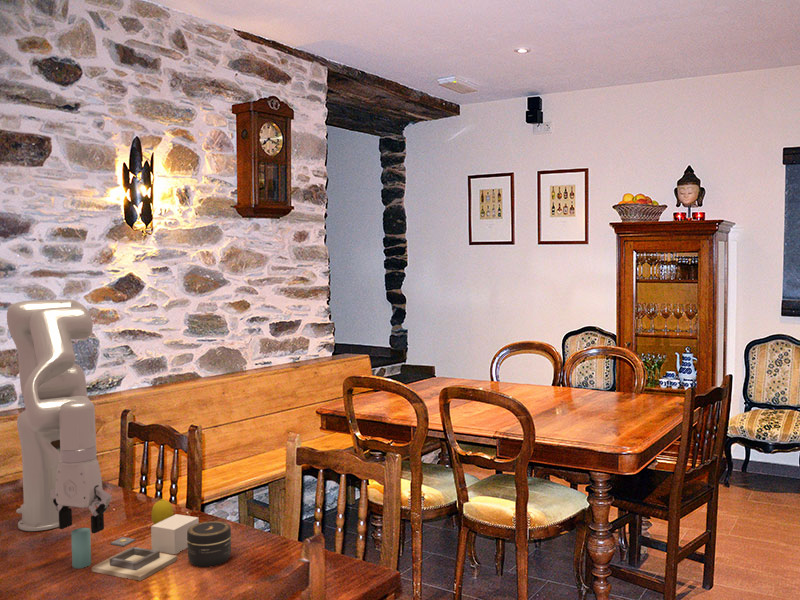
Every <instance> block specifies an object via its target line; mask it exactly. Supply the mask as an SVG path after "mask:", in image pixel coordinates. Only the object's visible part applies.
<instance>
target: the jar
mask: <svg viewBox="0 0 800 600" xmlns="http://www.w3.org/2000/svg"><path fill="white" fill-rule="evenodd" d="M187 542H188V548H187V557H188V560H189V563H190V564H191V563H192V564H193V565H192V564H191V565H192V566H194V565H195V566H194V567H197V566H198V568H211V567H210V566H213V567H217V566H216V565H218V566H220V564H221V565H223V564H225V563H226V562H227V561H228V560H229V559H230V557H231V552H232V529H231V525H230V524H229V523H227V522H225V521H219V520H211V521H210V520H208V521H202V522H199V523H198V524H195V525H193V526H191V527H190V528H189V529H188V531H187ZM224 562H225V563H224Z"/></svg>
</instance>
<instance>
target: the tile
mask: <svg viewBox="0 0 800 600" xmlns="http://www.w3.org/2000/svg"><path fill="white" fill-rule="evenodd" d="M134 542H136V539H135V538H130V537H124V536H122V537H120V538H118V539H116V540H113V541H112V542H110V545H113V546H119V547H126V546H128V545H130V544H131V543H134ZM125 545H126V546H125Z"/></svg>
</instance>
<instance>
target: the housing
mask: <svg viewBox="0 0 800 600" xmlns="http://www.w3.org/2000/svg"><path fill="white" fill-rule="evenodd" d="M199 521H200V520H199V516H198V517H197V516H191V515H183V514H177V513H174V515H173V516H171V517H169V518H167V519H165V520H163V521H161V522H159V523H157V524H153V525H151V526H150V532H151V533H150V535H151V550H155V551H159V553H163V554H169V555H174V554H175V555H177V554H179V553H181V552H183V551H184V550H186V549H188V542H187V531H188V529H189V528H190V527H191V526H193V525H195V524H198V523H200V522H199ZM182 550H183V551H182ZM180 551H181V552H180Z"/></svg>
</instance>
